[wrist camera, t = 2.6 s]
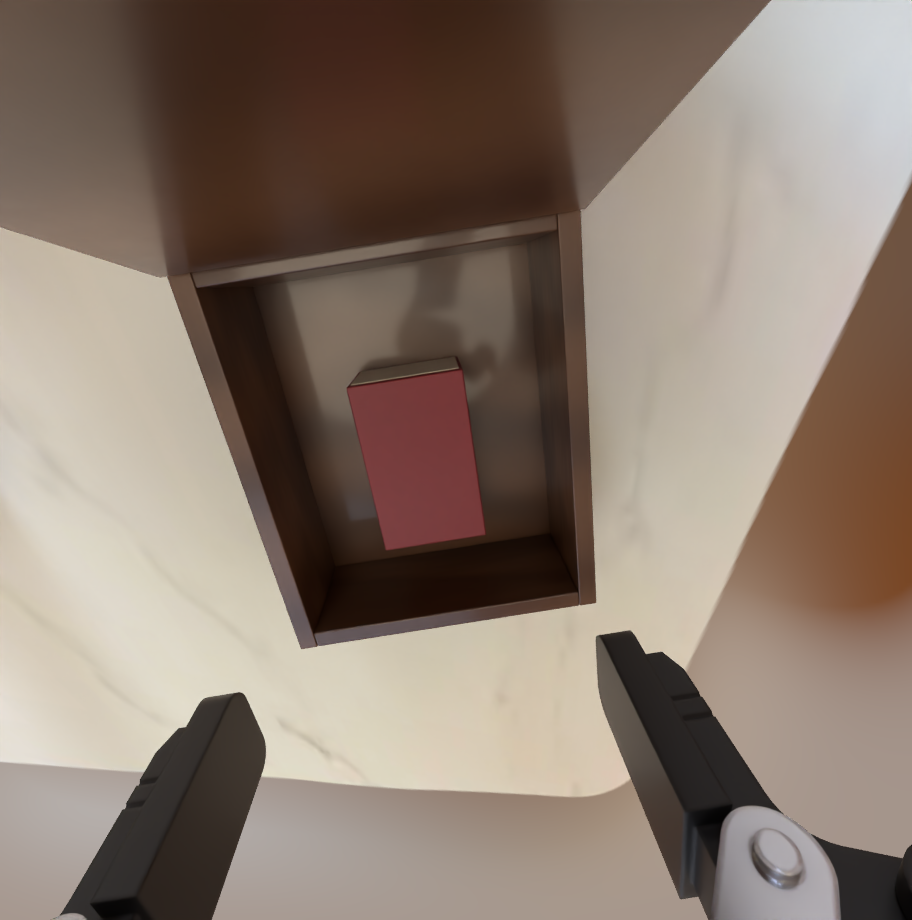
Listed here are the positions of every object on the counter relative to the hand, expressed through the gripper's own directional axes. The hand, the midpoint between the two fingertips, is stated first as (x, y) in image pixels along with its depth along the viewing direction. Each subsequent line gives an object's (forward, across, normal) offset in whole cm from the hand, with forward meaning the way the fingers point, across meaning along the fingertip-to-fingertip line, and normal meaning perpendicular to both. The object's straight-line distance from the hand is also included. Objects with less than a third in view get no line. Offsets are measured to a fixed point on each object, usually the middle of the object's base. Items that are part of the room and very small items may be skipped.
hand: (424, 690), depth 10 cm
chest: (+18, 0, -1) cm, 18 cm away
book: (+17, 0, 0) cm, 17 cm away
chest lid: (+1, 0, -12) cm, 12 cm away
